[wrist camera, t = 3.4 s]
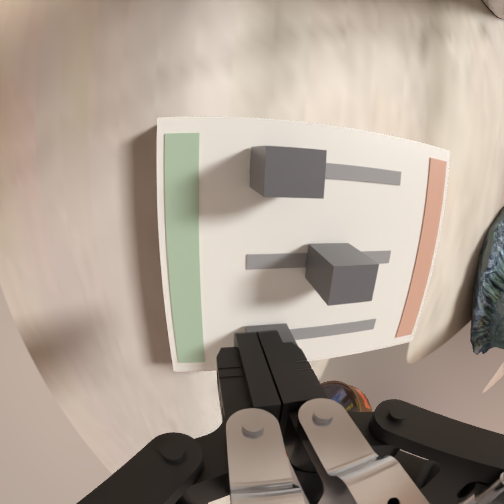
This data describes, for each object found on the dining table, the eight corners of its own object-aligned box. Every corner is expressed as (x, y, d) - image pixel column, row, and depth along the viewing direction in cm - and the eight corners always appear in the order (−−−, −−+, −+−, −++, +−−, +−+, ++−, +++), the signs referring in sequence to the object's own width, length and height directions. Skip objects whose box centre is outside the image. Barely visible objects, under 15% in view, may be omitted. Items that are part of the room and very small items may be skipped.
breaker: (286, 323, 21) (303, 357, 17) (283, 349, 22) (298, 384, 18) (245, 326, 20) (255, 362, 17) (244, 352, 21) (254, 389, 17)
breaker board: (431, 148, 21) (451, 150, 19) (398, 328, 27) (412, 341, 25) (162, 121, 17) (157, 117, 15) (174, 352, 23) (173, 372, 21)
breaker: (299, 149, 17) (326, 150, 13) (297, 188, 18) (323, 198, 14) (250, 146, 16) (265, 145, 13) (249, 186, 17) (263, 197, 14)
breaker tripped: (348, 243, 20) (379, 264, 16) (343, 275, 20) (371, 300, 17) (308, 243, 19) (333, 266, 15) (304, 277, 20) (327, 305, 16)
